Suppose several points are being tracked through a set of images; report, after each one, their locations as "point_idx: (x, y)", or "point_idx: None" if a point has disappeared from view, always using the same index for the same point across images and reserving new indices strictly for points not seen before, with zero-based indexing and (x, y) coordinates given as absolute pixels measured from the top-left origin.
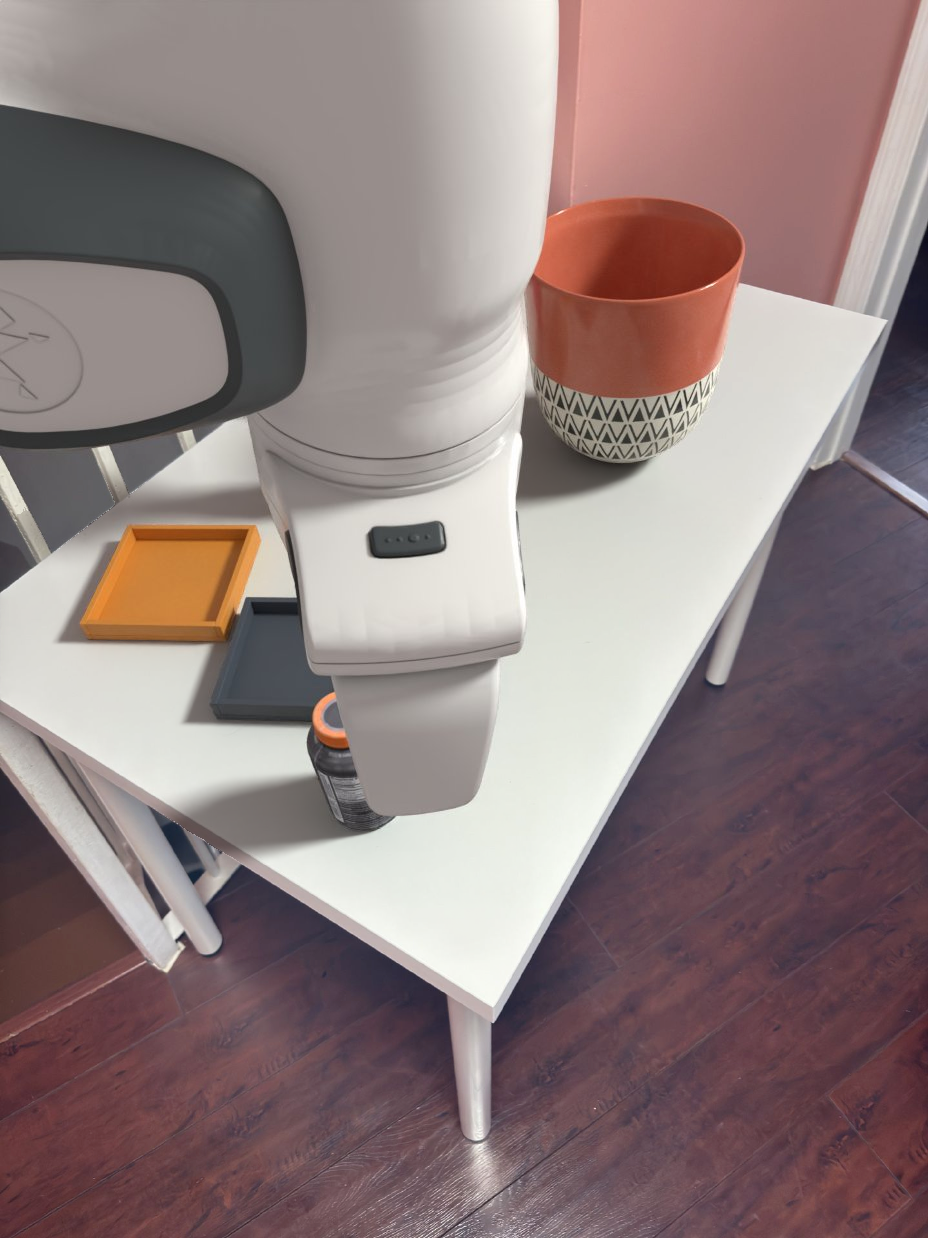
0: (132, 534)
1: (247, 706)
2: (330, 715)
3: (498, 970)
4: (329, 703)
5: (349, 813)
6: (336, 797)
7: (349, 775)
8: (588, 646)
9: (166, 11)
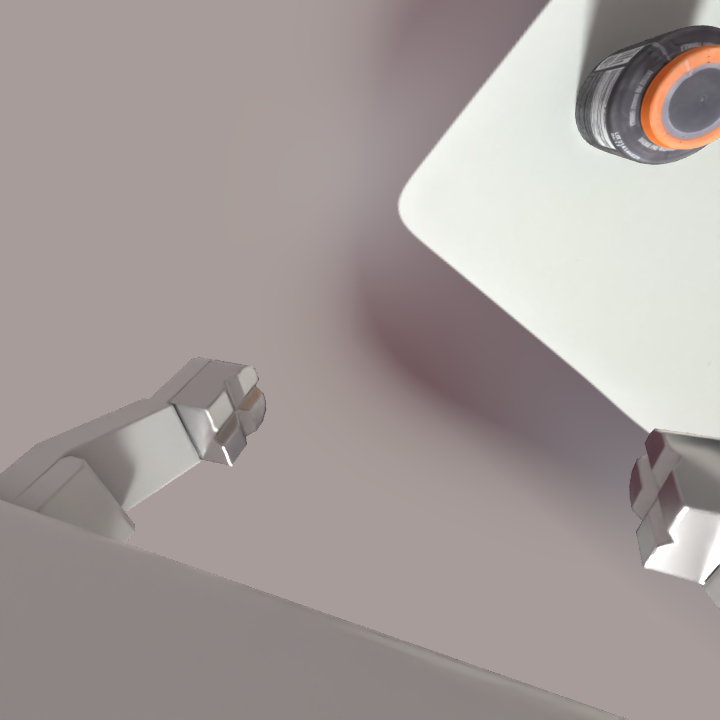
0: None
1: None
2: (705, 81)
3: (404, 219)
4: None
5: (592, 83)
6: (609, 69)
7: (609, 100)
8: (702, 363)
9: None
